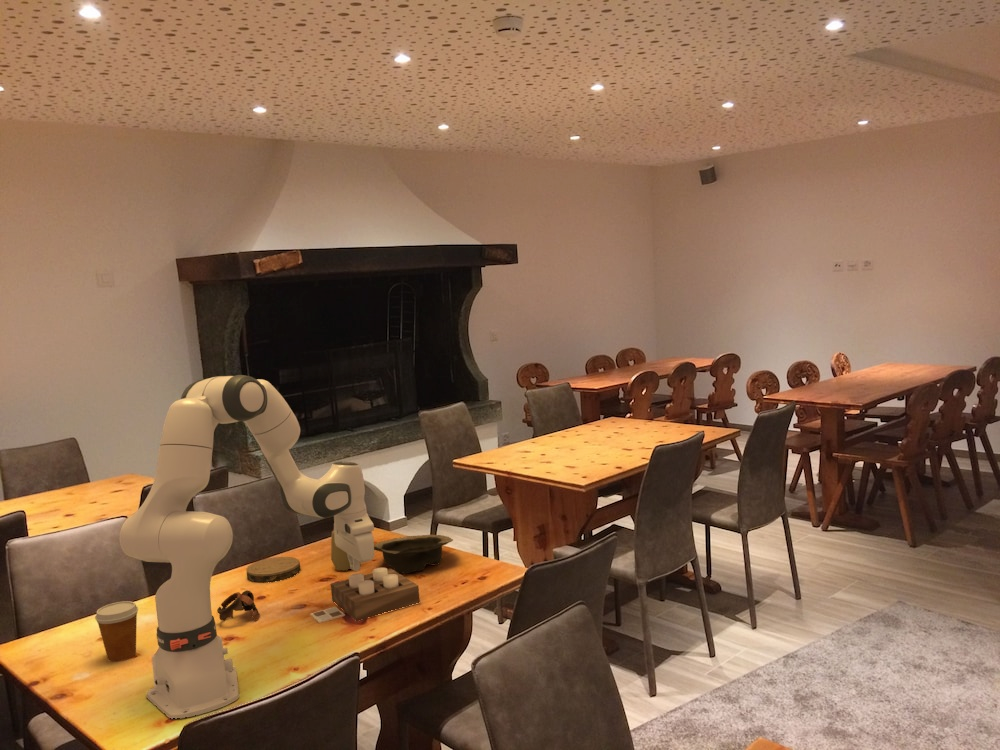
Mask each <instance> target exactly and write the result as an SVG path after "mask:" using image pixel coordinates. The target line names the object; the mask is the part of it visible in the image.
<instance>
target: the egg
mask: <svg viewBox="0 0 1000 750" xmlns="http://www.w3.org/2000/svg"><path fill="white" fill-rule="evenodd" d="M364 575H365V574H363V573H353V574H350V575H349V576H348V579H349V586H350V588H351V589H354V588H357V587H359V585H358V583H359V582H361V581H364Z"/></svg>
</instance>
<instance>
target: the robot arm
mask: <svg viewBox="0 0 1000 750" xmlns="http://www.w3.org/2000/svg"><path fill="white" fill-rule="evenodd" d="M167 410H168V411H167V412H166V416H165V419H164V423H163V427H162V431H161V435H160V443H159V448H158V449H159V450H158V456H157V463H156V468H155V469H156V470H155V475H154V478H153V479H154V480H153V482H152V486H151V488H150V491H148V494H147V496H146V498H145V500H144V501H143V502H142V504H141V506H140V507H139V508H138V509H137V510H136V511H135V512H134V513H133V514H132V515H130V516H128V517H127V518H126V519H125V521H124V522H123V524H122V526H121V528H120V531H119V539H118V540H119V545H120V549H121V550H122V552H123V553H124V554H125V555H126V556H128V557H130V558H131V559H135V560H139V561H142V562H147V563H148V562H149V563H170V565H171V576H170V578H169V579H167V580H166V581H165V582H163V584H161V585H160V586H159V588H158V589H157V590H156V593H155V597H154V600H155V609H156V618H157V627H156V639H157V645H158V648H157V650H156V651H155V653H154V654H153V656H152V657H151V661H152V663H151V664H152V675H153V685H154V686H153V687H152V688H150V689H149V690H148V691H146V693H145V694H146V699H147V698H148V699H147V700H148V701H150V702H151V703H152V705H154V706H155V705H156V706H157V707H156V706H155V707H156V708H158V709H159V711H161V712H162V714H164V713H165V714H166V716H167V718H169V719H170V718H171V719H170V720H178V719H177V718H180V719H185V717H187V718H190V717H195V715H196V716H199V715H203V714H206V713H209V712H212V711H216V710H218V709H221V708H224V707H225V706H228V705H230V704H232V703H234V702H235V701H237V700H238V699H239V698H240V693H239V683H238V675H237V674H238V673H237V668H236V667H235V666H234V665H233V658H228V659H225V655H227V654H228V655H229V652H228V650H229V649H228V647H224V644H223V638H222V637H220V636H219V635H218V634H217V633H218V632H217V623H216V621H215V616H213V614H212V611H213V610H212V602H211V600H212V599H211V580H212V577H213V573H214V570H215V568H216V566H217V565H218V563H219V562H221V560H222V559H224V558H225V557H226V555H228V552H229V550H230V549H231V546H232V544H233V538H234V536H233V535H234V532H233V528H232V525H231V524H230V522H229V520H228V519H227V518H226V517H225V516H222V515H219V514H214V513H211V512H207V511H189V510H188V511H187V507H188V505H189V503H190V502H191V500H192V499H193V497H194V496H195V495H196V494H198V493H200V492H202V491H203V490H205V488H207V486H208V484H209V482H210V476H211V468H212V457H213V448H214V436H215V435H214V432H215V429H216V428H217V427H218V425H219V424H222V425H226V424H232V423H237V422H244V423H245V425H246V427H247V428H248V430H249V431H250V433H251V435H252V436H253V438H254V439H255V441H256V442H257V444H258V446H259V447H260V448H259V449H260V452H261V454H262V457H263V458H264V460H265V462H266V464H267V466H268V467H269V470H270V471H271V474H272V475H273V476H274V479H275V480H276V482H277V485H278V487H279V490H280V495H281V496H280V497H281V501H282V503H283V505H284V507H285V509H286V510H287V511H289V512H290V513H292V514H295V515H306V516H310V517H316V518H320V519H321V518H322V519H327V518H328V519H329V518H332V517H333V521H334V523H335V524H334V523H333V530H334V539H335V544H336V546H337V547H338V548H340V549H341V550H343V551H344V552H346V553H347V556H348V559H349V562H350V568H351V570H352V571H354V572H360V570H361V563H362V564H363V563H367V562H371V561H373V560H374V557H375V550H374V545H375V543H374V542H375V541H374V540H375V539H374V534H373V531H374V530H375V526H374V523H373V521H372V520H371V518H370V516H369V513H368V511H367V509H368V508H367V503H366V502H365V496H366V495H365V494H366V490H365V489H366V487H365V479H364V474H363V470H362V468H361V466H360V465H359V464H358V463H356V462H351V461H336V462H333V463H332V464H331V467H330V468H329V469H328V471H327V472H326V473H325V474H323V476H321V477H320V478H317V479H316V478H311V477H309V476H307V475H305V474H303V473H302V472H301V471H300V470H299V468H298V466H297V464H296V462H295V460H294V459H293V457H292V454H291V452H290V450H291V448H293V447H294V445H295V444H296V443H297V442H298V440H299V438H300V435H301V426H300V423H299V421H298V418H297V417H296V415H295V413H294V412H293V410H292V409H291V407H290V405H289V404H288V402H287V401H286V400H285V398H284V397H283V395H282V394H281V393H280V392H279V391H278V390H277V389H276V387H275V386H274V385H272V383H270V381H268V380H265V379H262V378H261V379H259V378H258V379H256V378H255V377H253V376H250V375H243V374H238V375H237V374H236V375H218V376H212V377H210V378H205V379H204V378H203V379H198V380H196V381H193V382H192V383H190V384H189V385H188V386H186V387H185V389H183V392H182V393H181V396H180V399H177V400H175V401H174V402H173V403H171V405H170V406H169V408H168V409H167ZM165 714H164V715H165ZM173 718H175V719H173Z"/></svg>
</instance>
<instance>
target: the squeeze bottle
mask: <svg viewBox="0 0 1000 750" xmlns="http://www.w3.org/2000/svg"><path fill="white" fill-rule="evenodd" d="M334 524H335V523H333V525H334ZM330 538H331V539H330V540H331V542H330V543H331V551H330V558H331V561H332V564H333V567H334V568H335V570H336V569H337V570H336V571H338V570H346V571H349V570H348V569H351V568H350V562H349V559H348V556H347V553H346V552H344V551H343V550H341V549H340V548H338V547H337V546H336V544H335V539H334V529H333V530H332V531H331V537H330ZM351 570H352V569H351Z"/></svg>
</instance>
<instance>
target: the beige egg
mask: <svg viewBox="0 0 1000 750" xmlns="http://www.w3.org/2000/svg"><path fill="white" fill-rule="evenodd" d="M387 569H388V568H387V567H376V568H374V569H372V573H373V580H374V582H376V583H377V582H380V581H383V576H385V575H388V572H387Z"/></svg>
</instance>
